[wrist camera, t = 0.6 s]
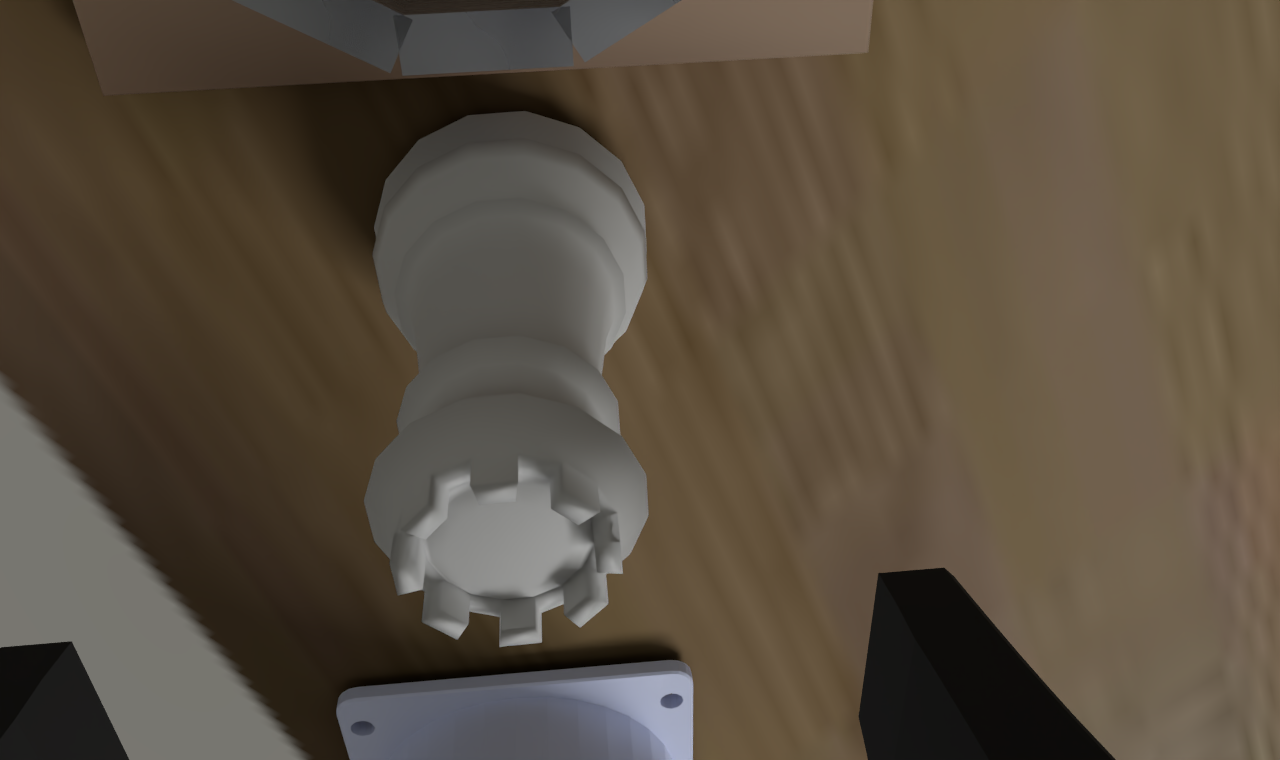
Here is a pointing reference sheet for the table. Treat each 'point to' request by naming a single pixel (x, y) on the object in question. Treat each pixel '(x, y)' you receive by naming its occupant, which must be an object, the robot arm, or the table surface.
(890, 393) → the table surface
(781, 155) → the table surface
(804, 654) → the table surface
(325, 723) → the table surface
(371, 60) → the socket board
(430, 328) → the rook chess piece
